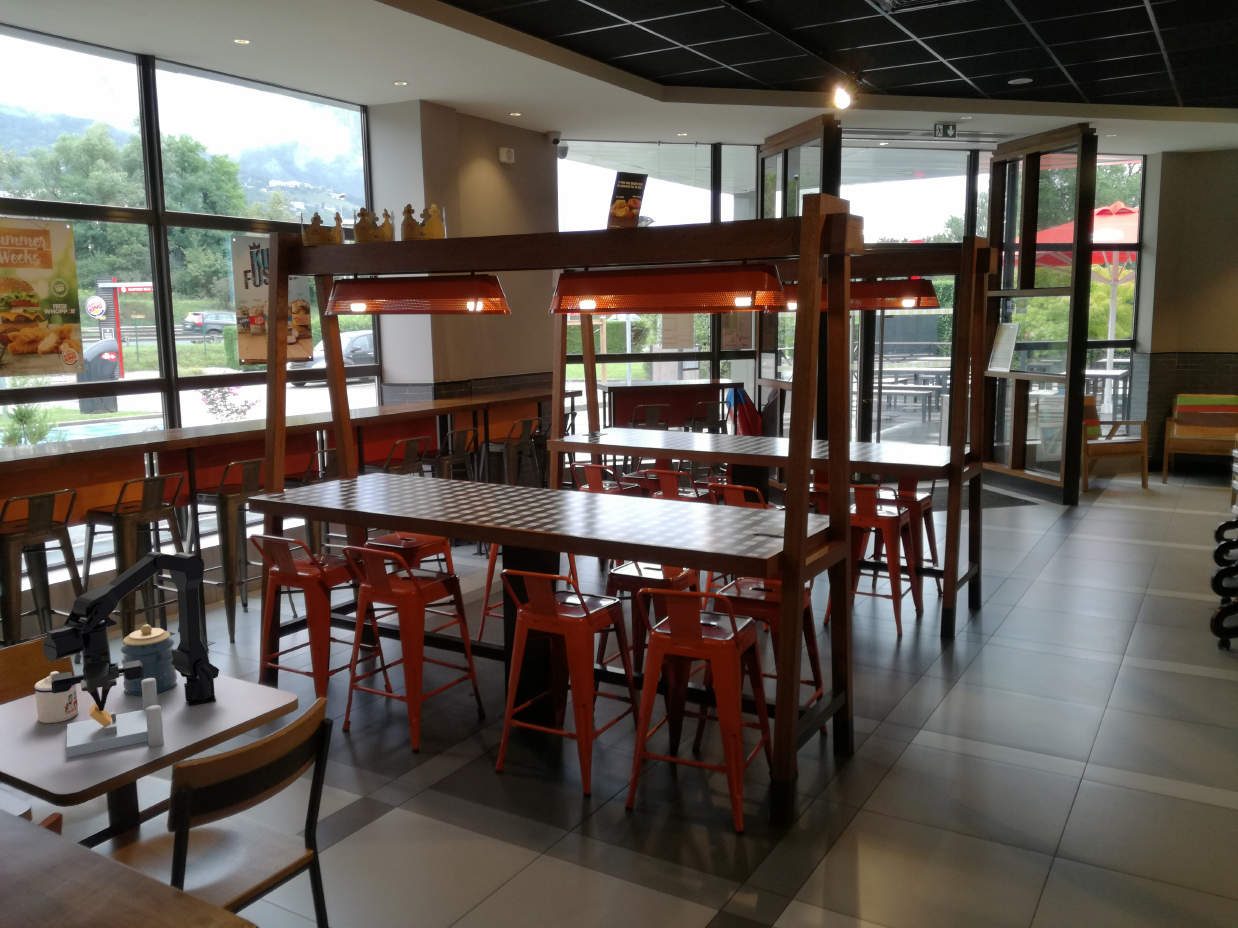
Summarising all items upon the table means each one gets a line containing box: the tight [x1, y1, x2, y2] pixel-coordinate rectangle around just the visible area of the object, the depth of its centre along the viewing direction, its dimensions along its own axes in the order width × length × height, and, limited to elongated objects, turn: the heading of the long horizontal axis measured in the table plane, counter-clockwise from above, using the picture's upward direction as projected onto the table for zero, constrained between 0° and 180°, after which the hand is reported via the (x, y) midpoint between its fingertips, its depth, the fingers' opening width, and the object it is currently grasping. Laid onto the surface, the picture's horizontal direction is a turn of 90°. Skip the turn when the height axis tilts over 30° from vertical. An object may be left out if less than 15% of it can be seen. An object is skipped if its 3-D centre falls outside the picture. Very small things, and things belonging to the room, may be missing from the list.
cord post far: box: [141, 678, 159, 710], centre depth 230 cm, size 3×3×9 cm
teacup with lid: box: [33, 670, 79, 724], centre depth 230 cm, size 12×9×12 cm
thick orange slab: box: [89, 702, 111, 727], centre depth 216 cm, size 2×5×5 cm
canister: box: [119, 623, 178, 696], centre depth 246 cm, size 13×13×18 cm
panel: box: [66, 709, 148, 758], centre depth 218 cm, size 18×14×4 cm
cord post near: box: [146, 704, 165, 748], centre depth 214 cm, size 3×3×9 cm
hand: (101, 710), depth 216 cm, fingers closed
